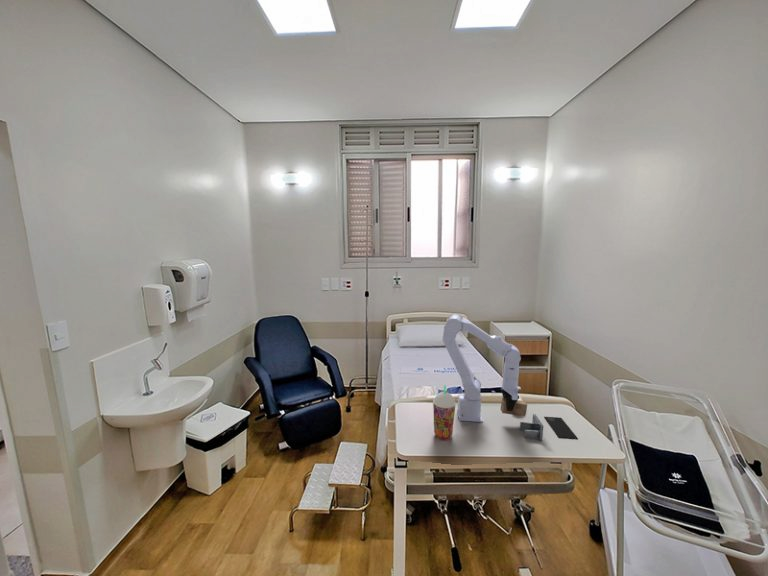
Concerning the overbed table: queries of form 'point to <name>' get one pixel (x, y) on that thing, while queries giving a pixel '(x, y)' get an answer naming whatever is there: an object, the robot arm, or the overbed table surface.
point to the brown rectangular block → (515, 408)
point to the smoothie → (443, 414)
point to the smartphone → (560, 428)
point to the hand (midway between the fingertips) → (508, 408)
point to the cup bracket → (532, 428)
